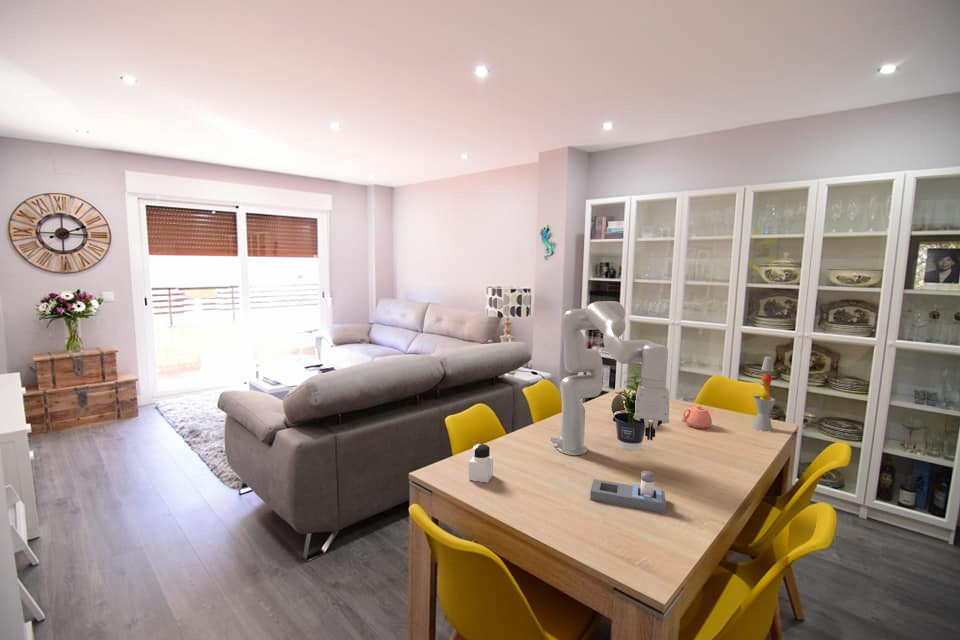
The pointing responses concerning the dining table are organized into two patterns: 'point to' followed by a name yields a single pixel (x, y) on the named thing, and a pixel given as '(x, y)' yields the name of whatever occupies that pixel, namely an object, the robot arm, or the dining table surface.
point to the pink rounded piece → (697, 417)
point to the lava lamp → (764, 400)
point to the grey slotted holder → (627, 495)
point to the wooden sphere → (617, 404)
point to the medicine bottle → (481, 464)
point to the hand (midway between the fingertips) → (649, 438)
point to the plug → (647, 483)
